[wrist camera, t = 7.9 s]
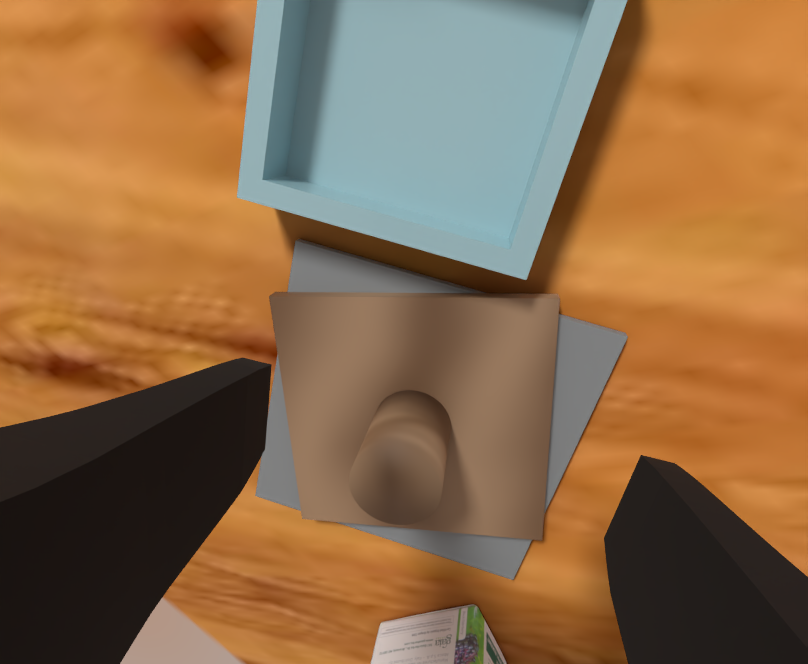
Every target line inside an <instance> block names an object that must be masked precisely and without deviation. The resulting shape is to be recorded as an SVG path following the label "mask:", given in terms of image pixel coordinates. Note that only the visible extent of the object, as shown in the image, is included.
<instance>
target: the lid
mask: <svg viewBox="0 0 808 664" xmlns="http://www.w3.org/2000/svg"><path fill="white" fill-rule="evenodd" d="M269 299H270V305H271V312H272V319H273V326H274V332H275V339H276V346H277V352H278V359H279V366H280V373H281V379H282V386H283V393H284V400H285V406H286V413H287V420H288V426H289V433H290V440H291V447H292V453H293V460H294V467H295V473H296V480H297V487H298V494H299V500H300V507H301V514H302V519H310V520H321V521H332V522H343V523H354V524H365V525H376V526H387V527H398V528H409V529H420V530H431V531H442V532H453V533H464V534H475V535H486V536H497V537H508V538H519V539H530V540H541V541H542V536H543V523H544V509H545V495H546V482H547V468H548V454H549V441H550V427H551V413H552V400H553V386H554V373H555V359H556V345H557V332H558V318H559V304H560V298H559V295H558V294H521V293H363V292H275V293H273V294H272V295H270V296H269Z"/></svg>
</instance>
